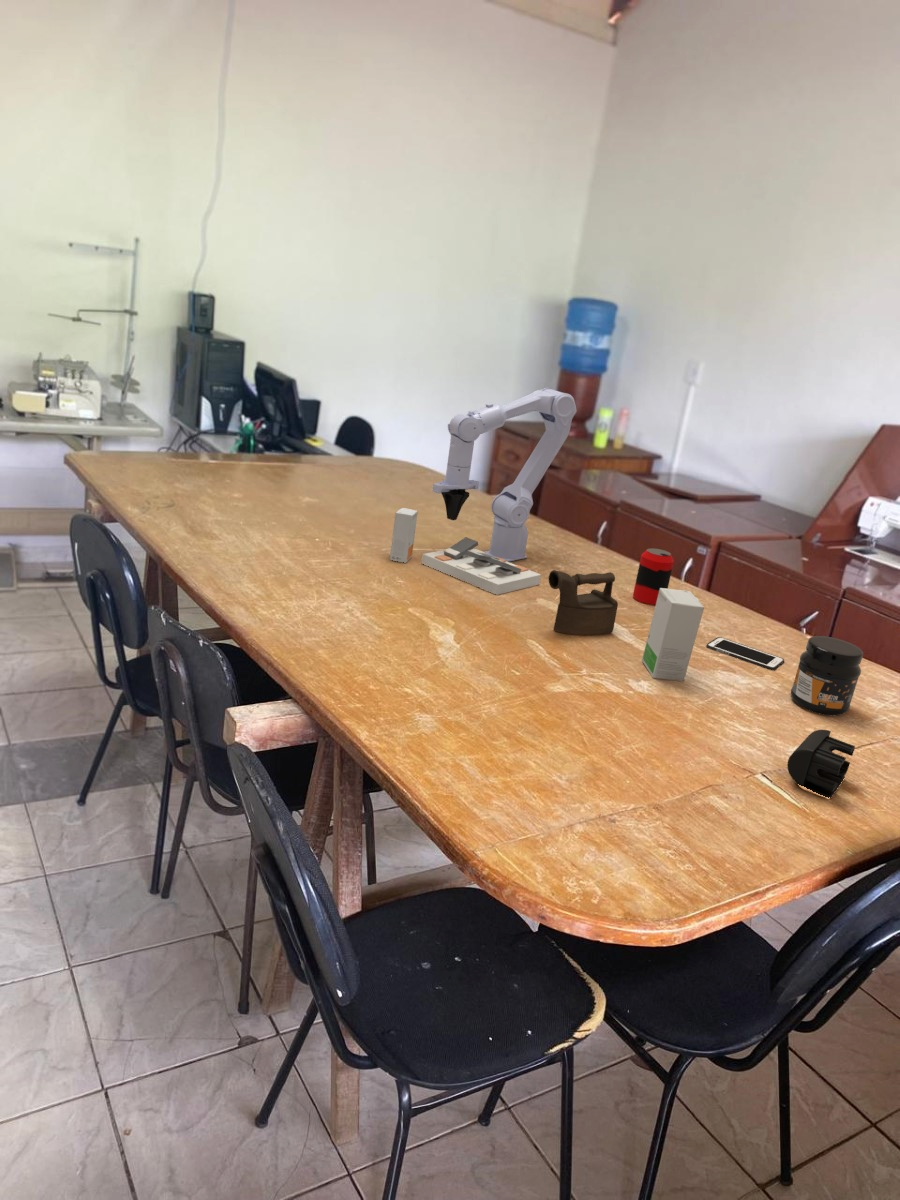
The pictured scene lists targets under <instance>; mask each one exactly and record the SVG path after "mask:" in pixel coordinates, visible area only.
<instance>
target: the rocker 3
mask: <svg viewBox="0 0 900 1200" xmlns="http://www.w3.org/2000/svg"><path fill="white" fill-rule="evenodd" d="M488 562H491V563H494V564H496V565H499V566H501V567H504V568H507V569H510V570H512V571H515V572H518V573H520V572H521V569H520V568H517V567H514V566H512V565H509V564H507V563H505V562H502V561H500V560H497V559H495V558H492V557H491V558H489V561H488Z"/></svg>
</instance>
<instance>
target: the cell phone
mask: <svg viewBox="0 0 900 1200" xmlns="http://www.w3.org/2000/svg"><path fill="white" fill-rule="evenodd" d="M705 647H706V648H707V649H709V650H712V651H714V652H717V653H721V654H724V655H727V656H729V657H731V658H734V659H737V658H738V659H737V660H740V661H743V662H746V663H749V664H752V665H755V666H757V667H760V668H763V669H766V670H770V671H776V670H777V669H778V668H779V666H782V665H783V664H784V662H785V659H784V658H783V657H780V656H778V655H774V654H771V653H769V652H765V651H763V650H760V649H757V648H754V647H751V646H748V645H746V644H743V643H740V642H736V641H733V640H730V639H727V638H724V637H721V636H718V637H716V638H714V639H713V640H711V641H709V642H708V643H706V646H705Z"/></svg>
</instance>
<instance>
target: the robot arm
mask: <svg viewBox="0 0 900 1200" xmlns="http://www.w3.org/2000/svg"><path fill="white" fill-rule="evenodd" d="M532 412H536V413H537V412H538V413H539V415H540V417H541V418H542V420H543V423H544V427H545V430H544V433H543V434H542V435H541V437H540V440H539V441H538V443H537V444H536V446H535V448H533V449H534V450H533V451H532V452H531V454H530V455H529V457H528V459H527V460H526V462H525V463H524V465H523V466H522V468H521V470H520V472H518V475H517V477H516V478H515V480H514V482H513V483H512V484H509V485H507V486H504V488H503V489H502V491H501V492H500V493H498V494H497V495H496V496H495V497H494V498H493V500H492V502H491V507H490V508H491V512H492V514H493V515H494V517H493V520H494V521H493V525H492V526H493V527H492V530H491V531H492V533H491V539H490V546H489V550H484V551H483V552H485V553H486V554H489V555H491V556H494V557H499V558H501V559H504V560H506V561H507V562H509V563H510V562H514V561H519V560H523V559H527V558H528V555H526V549H527V543H528V539H529V531H528V527H527V526H526V522H527V521H528V519H529V516H530V511H531V509H532V507H533V505H534V501H533V493H534V491H535V490H536V488H537V487H538V486H539V484H540V482H541V480H542V479H543V477H544V475H545V474H546V472H547V470H548V468H549V467H550V465H551V464H552V463H553V461H554V459H555V458H556V456H557V454H558V453H559V451H560V450H561V448H562V446H563V445H564V443H565V442H566V440H567V438H568V436H569V434H570V431H571V427H572V420H573V419H574V416H575V415H576V413H577V412H578V411H577V406H576V402H575V398H574V397H573V396H572V395H571V394H570V393H568V392H567V393H566V392H562V391H558V390H556V389H553V388H551V387H545V388H541V389H538V390H534V391H533V392H532V393H530V394H527V395H525V396H523V397H520V398H517V399H516V400H513V401H510V402H508V403H506V404H504V405H499V404H497V403H491V402H487V403H486V404H485V406H484V407H481V408H478V409H476V410H473V409H471V410H468V413H467V414H464V413H456V415H454V416H453V417H452V418H451V419H450V422H449V423H447V430H448V434H449V435H450V443H449V450H448V457H447V464H446V473H445V478H443V479H442V481H439V482H435V483H433V484H432V492H433V493H434V494H435V493H436V494H441V495H442V497H443V501H444V504H445V511H446V518H447V520H451V521H457V519H458V517H459V514H460V511H461V509H462V507H463V506H464V504H465V502H466V501H467V500H468V498H470V492H468V491H466V490H479V485H480V481H477V480H476V479H475V480H474V479H470V476H471V475H470V474H471V467H472V461H473V453H474V447H475V441H477V439H478V438H479V437H480V435H482V434H486V433H488V432H490V431H493V430H495V429H496V430H497V429H498V428H499V429H500V428H501V427H503V426H504V425H505V423H506V421H507V420H509V419H513V418H515V417H519V416H522V415H525V414H528V413H532Z"/></svg>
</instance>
